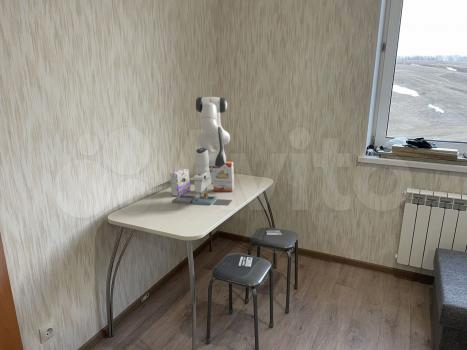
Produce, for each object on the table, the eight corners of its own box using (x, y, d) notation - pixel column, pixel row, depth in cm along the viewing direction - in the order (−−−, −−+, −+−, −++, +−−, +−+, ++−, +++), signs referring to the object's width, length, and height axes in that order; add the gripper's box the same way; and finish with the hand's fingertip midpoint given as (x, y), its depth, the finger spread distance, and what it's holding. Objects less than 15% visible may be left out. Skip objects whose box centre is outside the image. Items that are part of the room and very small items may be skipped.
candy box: (184, 190, 252) (182, 168, 248) (190, 191, 249) (189, 169, 245) (171, 195, 241) (169, 172, 236) (178, 196, 238) (176, 173, 233)
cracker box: (213, 191, 246) (211, 162, 241) (215, 189, 252) (214, 160, 247) (232, 192, 243) (231, 163, 238) (234, 189, 249) (233, 161, 243)
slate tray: (199, 198, 232) (199, 195, 231) (216, 199, 229) (216, 196, 228) (192, 204, 221) (192, 201, 220) (210, 205, 217) (210, 202, 217)
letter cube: (202, 196, 227) (202, 190, 226) (208, 197, 226) (208, 191, 225) (200, 198, 223) (200, 192, 222) (206, 199, 222) (205, 193, 221)
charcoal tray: (180, 197, 236) (179, 194, 235) (196, 198, 232) (196, 195, 232) (172, 203, 224) (172, 200, 224) (189, 204, 221) (189, 201, 221)
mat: (217, 200, 227) (217, 199, 227) (232, 201, 225) (232, 199, 225) (212, 205, 218) (212, 204, 218) (228, 206, 215) (227, 205, 215)
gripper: (204, 169, 231) (205, 189, 234) (192, 178, 212) (193, 199, 215) (213, 170, 229) (214, 190, 233) (202, 178, 210) (203, 200, 214)
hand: (204, 194), depth 224 cm, fingers closed on letter cube, 4 cm apart
